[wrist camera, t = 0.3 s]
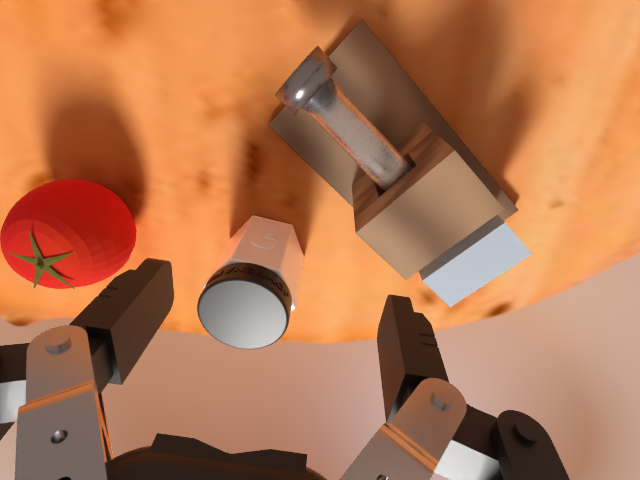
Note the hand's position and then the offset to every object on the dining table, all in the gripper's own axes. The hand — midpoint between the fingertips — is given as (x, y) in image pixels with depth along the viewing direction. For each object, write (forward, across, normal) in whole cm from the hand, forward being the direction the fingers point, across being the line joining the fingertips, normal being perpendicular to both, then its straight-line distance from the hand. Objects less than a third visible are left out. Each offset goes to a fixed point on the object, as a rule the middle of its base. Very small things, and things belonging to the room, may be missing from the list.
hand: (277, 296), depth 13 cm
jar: (+25, +4, +14) cm, 29 cm away
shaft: (+21, -7, +1) cm, 22 cm away
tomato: (+25, +23, +12) cm, 36 cm away
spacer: (+23, -15, +6) cm, 28 cm away
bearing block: (+25, -9, +2) cm, 27 cm away
